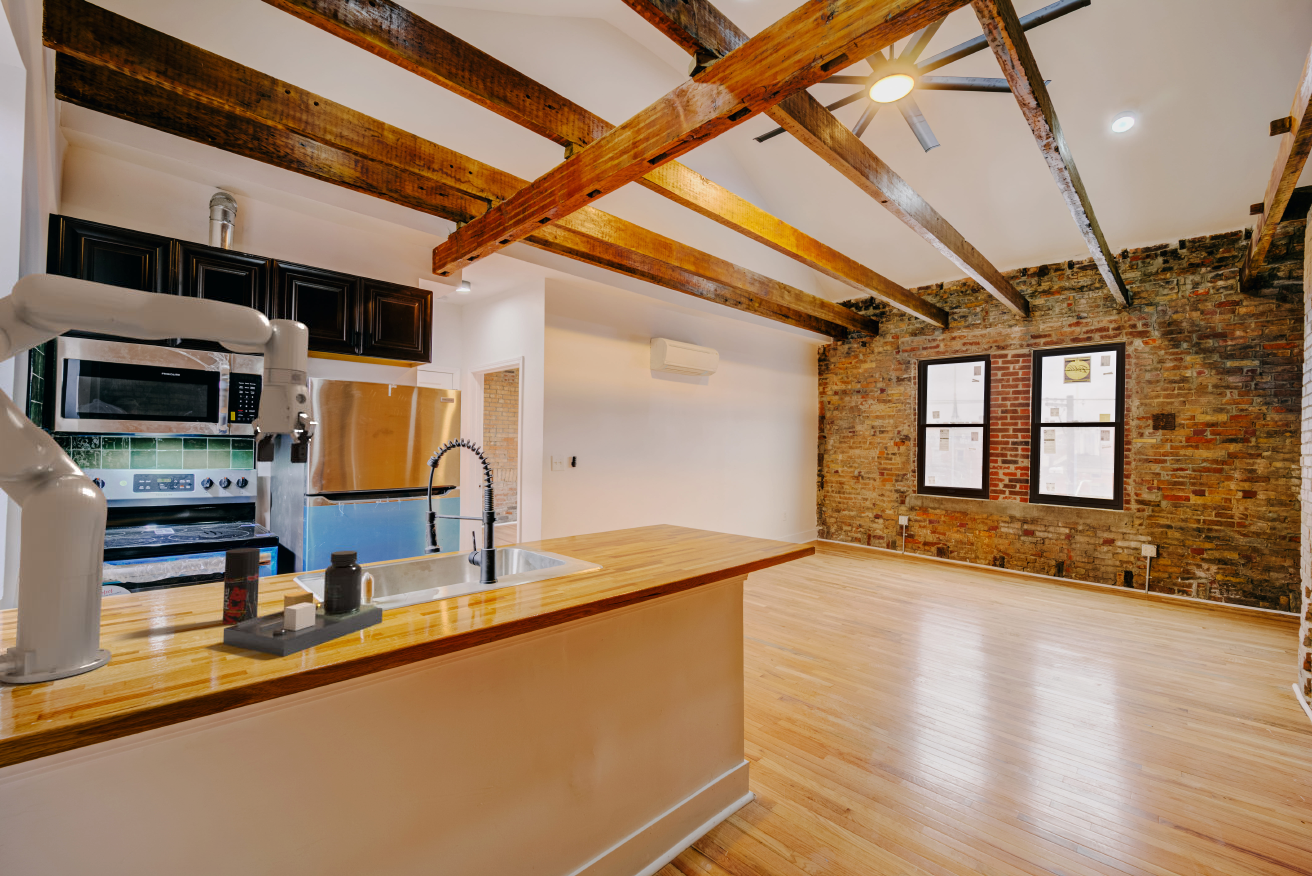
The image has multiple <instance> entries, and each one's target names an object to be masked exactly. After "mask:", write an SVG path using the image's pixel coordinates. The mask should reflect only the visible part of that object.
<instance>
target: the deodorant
mask: <svg viewBox="0 0 1312 876" xmlns="http://www.w3.org/2000/svg"><path fill="white" fill-rule="evenodd" d="M260 553H261V549H260V548H258V547H257V548H256V547H245V548H242V547H241V548H234V549H233V548H232V549H227V550H226V551H225V559H224V561H225V562H224V582H223V583H224V584H223V585H224V586H223V606H222V607H223V608H222V611H223V612H222V624H223V625H227V626H234V625H238V622H242V621H246V620H249V619H253V618H257V617H258V605H259V583H260V582H259V581H260V580H259V579H260V559H261V558H260V557H261V556H260V555H261V554H260Z"/></svg>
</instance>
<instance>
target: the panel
mask: <svg viewBox="0 0 1312 876" xmlns="http://www.w3.org/2000/svg"><path fill="white" fill-rule="evenodd" d="M313 604H316V610H315V625H313V626H309V627H306V628H303V629H300V630H297V631H293V630H288V629H284V617H285V616H284V609H283V610H280V611H277V612H272V613H269V614H265V615H261V616H257V618H253V619H249V620H246V621H242V622H238V624H237V625H230V626H228V627H224V628H223V640H222V641H223V643H222V644H223V645H224V646H229V647H235V648H240V649H244V650H250V651H254V652H259V653H262V654H263V653H264V654H268V655H273V656H274V655H275V656H279V657H283V658H284V657H287V656H290V655H293V654H296V653H298V652H301V651H304V650H307V649H310V648H312V647H315V646H318V645H321V644H324V643H327V642H330V641H333V640H335V639H338V638H341V637H344V636H347V635H350V634H352V633H356V632H359V631H361V630H365V629H367V628H370V627H373V626H375V625H378V624H381V623H383V607H378V606H376V605H369V604H363V603H361V605H360V608H359V609H357V610H355V611H353V612H348V613H342V614H330V613H326V612H325V611H324V600H323V601H320V602H313Z"/></svg>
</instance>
